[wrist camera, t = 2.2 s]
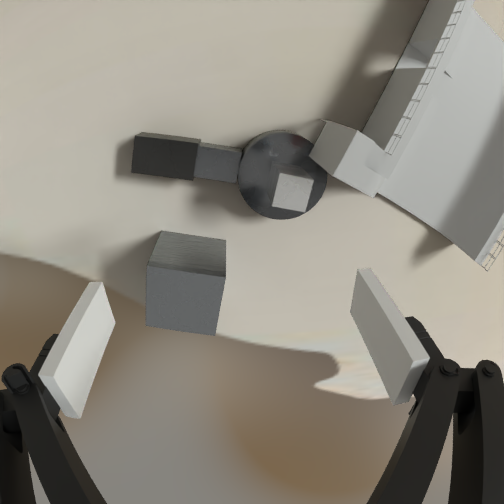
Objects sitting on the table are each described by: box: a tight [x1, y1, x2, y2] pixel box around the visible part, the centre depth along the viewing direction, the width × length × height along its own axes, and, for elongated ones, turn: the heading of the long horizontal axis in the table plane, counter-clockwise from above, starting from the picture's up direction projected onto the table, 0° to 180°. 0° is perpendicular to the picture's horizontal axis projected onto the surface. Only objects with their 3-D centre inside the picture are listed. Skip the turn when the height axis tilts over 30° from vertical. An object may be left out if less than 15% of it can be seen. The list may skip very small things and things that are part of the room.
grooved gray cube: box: [146, 231, 226, 336], centre depth 35 cm, size 8×8×8 cm
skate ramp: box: [309, 0, 504, 272], centre depth 26 cm, size 30×27×11 cm
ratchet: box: [131, 130, 327, 220], centre depth 30 cm, size 20×9×8 cm, turn 78°
